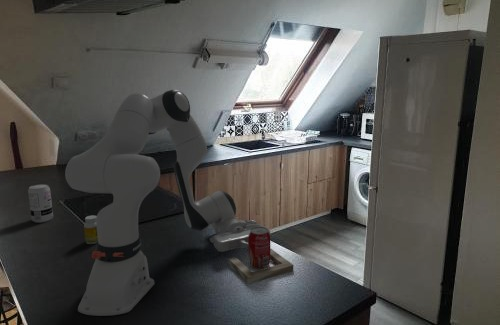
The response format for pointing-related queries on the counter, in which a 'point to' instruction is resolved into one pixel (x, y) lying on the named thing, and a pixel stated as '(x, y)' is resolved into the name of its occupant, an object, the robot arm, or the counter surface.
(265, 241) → the soda can
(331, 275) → the counter surface
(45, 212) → the supplement can
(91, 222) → the supplement bottle
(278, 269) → the birch bay
